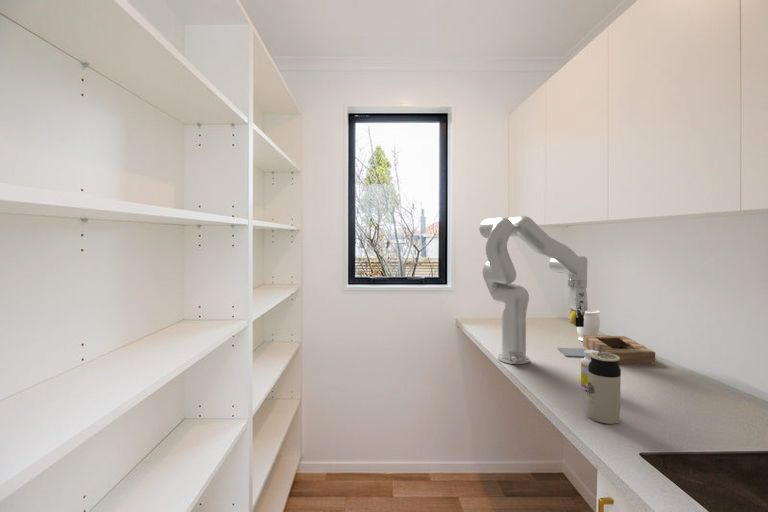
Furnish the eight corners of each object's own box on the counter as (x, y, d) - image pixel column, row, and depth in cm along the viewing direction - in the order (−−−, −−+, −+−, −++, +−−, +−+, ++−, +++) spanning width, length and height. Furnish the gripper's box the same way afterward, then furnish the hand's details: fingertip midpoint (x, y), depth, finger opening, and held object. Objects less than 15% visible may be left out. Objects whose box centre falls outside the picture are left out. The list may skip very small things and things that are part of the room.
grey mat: (595, 358, 166) (595, 356, 166) (566, 356, 167) (566, 355, 167) (585, 349, 177) (585, 348, 177) (557, 348, 179) (557, 347, 179)
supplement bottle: (592, 384, 136) (592, 348, 135) (607, 391, 130) (608, 353, 129) (575, 386, 134) (576, 349, 134) (590, 394, 128) (591, 355, 127)
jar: (575, 336, 200) (576, 307, 200) (598, 339, 196) (599, 309, 195) (575, 341, 191) (576, 311, 190) (599, 344, 186) (600, 313, 186)
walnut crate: (654, 365, 156) (655, 352, 156) (606, 363, 158) (607, 350, 158) (624, 347, 182) (624, 335, 181) (583, 345, 184) (583, 334, 184)
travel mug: (615, 414, 113) (617, 352, 112) (622, 426, 106) (624, 361, 105) (585, 410, 116) (586, 350, 115) (589, 422, 108) (591, 358, 108)
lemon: (582, 325, 174) (582, 308, 173) (585, 328, 168) (585, 310, 168) (569, 325, 175) (569, 307, 175) (571, 328, 170) (571, 309, 169)
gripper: (594, 286, 162) (593, 329, 163) (579, 281, 179) (579, 320, 180) (575, 286, 163) (574, 329, 164) (562, 281, 180) (561, 320, 181)
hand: (576, 324), depth 172 cm, fingers closed on lemon, 5 cm apart
